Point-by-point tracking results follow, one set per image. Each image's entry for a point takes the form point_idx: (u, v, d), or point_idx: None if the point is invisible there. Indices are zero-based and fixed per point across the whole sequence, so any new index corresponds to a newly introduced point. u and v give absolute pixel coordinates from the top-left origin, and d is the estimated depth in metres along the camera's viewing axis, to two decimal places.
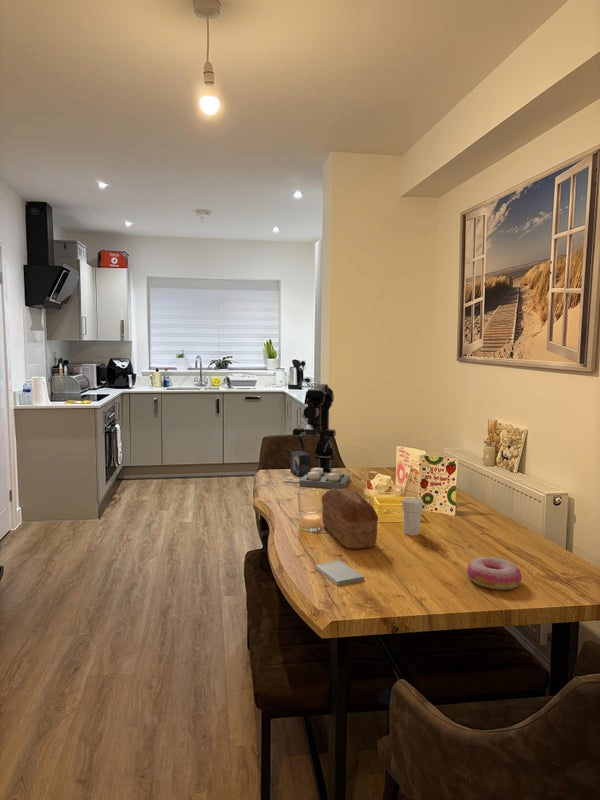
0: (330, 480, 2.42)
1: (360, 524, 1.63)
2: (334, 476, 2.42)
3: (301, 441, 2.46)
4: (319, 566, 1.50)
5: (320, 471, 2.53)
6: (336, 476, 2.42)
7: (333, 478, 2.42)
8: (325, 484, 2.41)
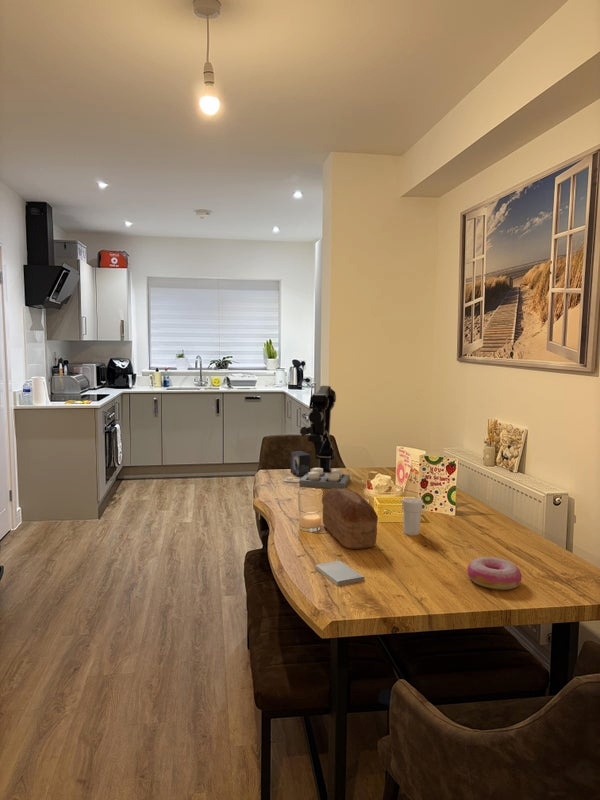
0: (330, 480, 2.42)
1: (360, 524, 1.63)
2: (334, 476, 2.42)
3: None
4: (319, 566, 1.50)
5: (320, 471, 2.53)
6: (336, 476, 2.42)
7: (333, 478, 2.42)
8: (325, 484, 2.41)
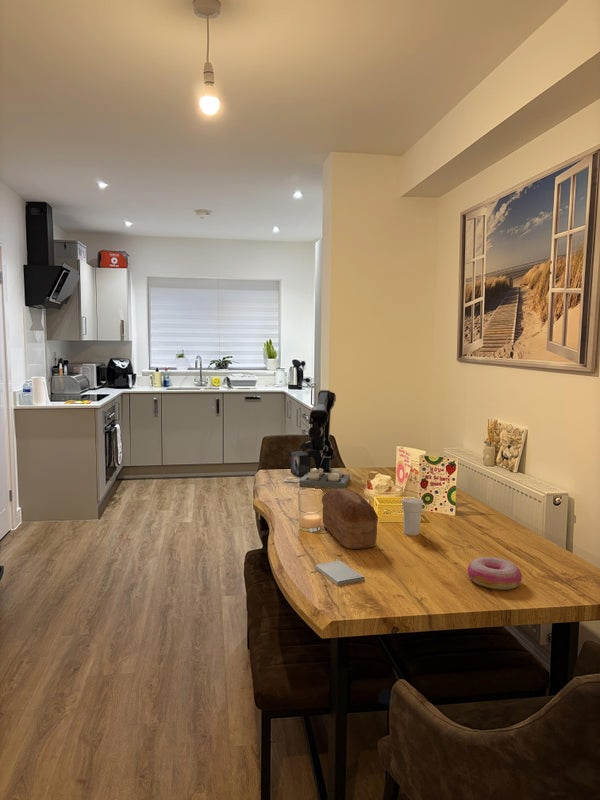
0: (330, 480, 2.42)
1: (360, 524, 1.63)
2: (334, 476, 2.42)
3: None
4: (319, 566, 1.50)
5: (320, 471, 2.53)
6: (336, 476, 2.42)
7: (333, 478, 2.42)
8: (325, 484, 2.41)
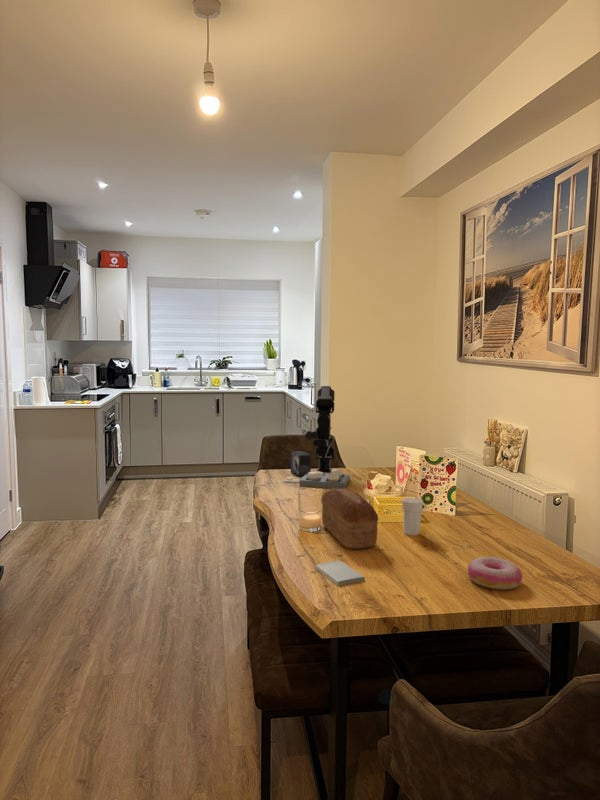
0: (330, 480, 2.42)
1: (361, 524, 1.63)
2: (334, 476, 2.42)
3: None
4: (319, 566, 1.50)
5: (320, 475, 2.53)
6: (336, 476, 2.42)
7: (333, 478, 2.42)
8: (325, 484, 2.41)
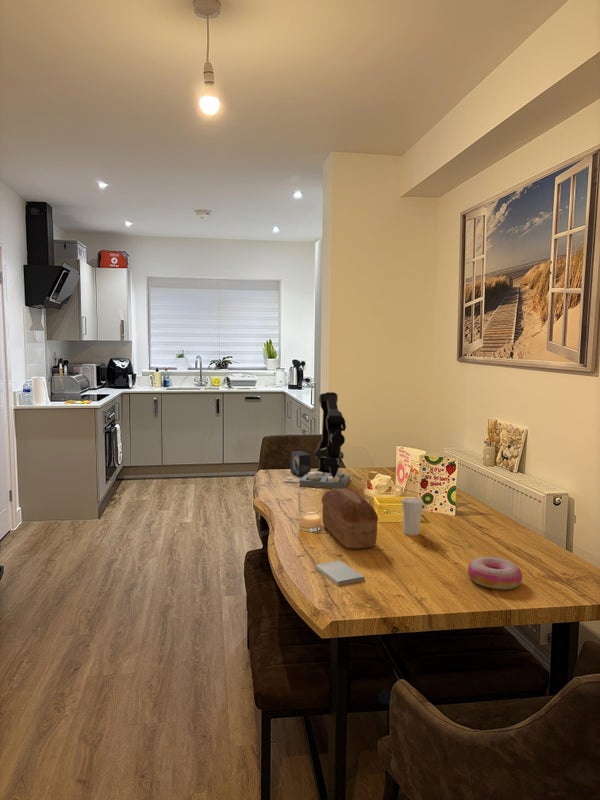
0: None
1: (360, 524, 1.63)
2: (334, 479, 2.42)
3: None
4: (319, 566, 1.50)
5: (320, 475, 2.53)
6: (336, 479, 2.42)
7: (333, 481, 2.42)
8: (325, 484, 2.41)
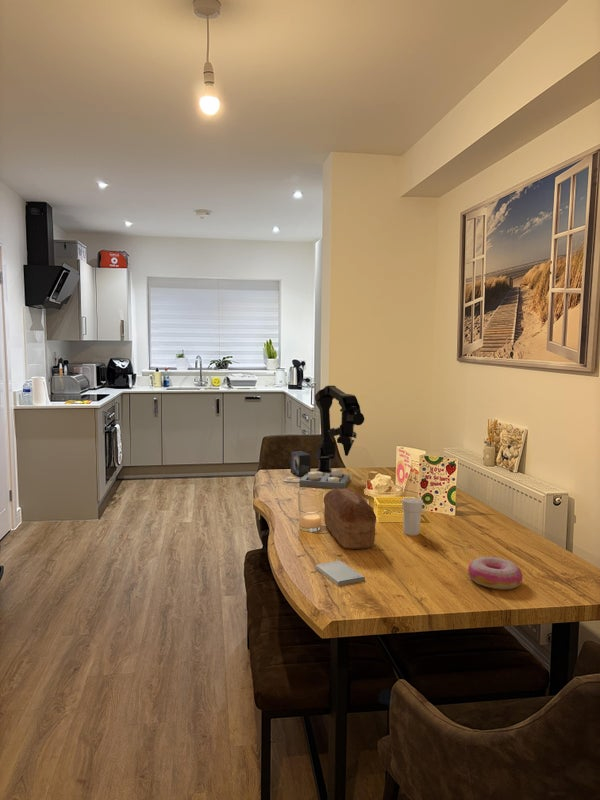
0: None
1: (357, 524, 1.63)
2: (334, 480, 2.42)
3: None
4: (319, 566, 1.50)
5: (320, 475, 2.53)
6: (336, 480, 2.42)
7: None
8: (325, 484, 2.41)
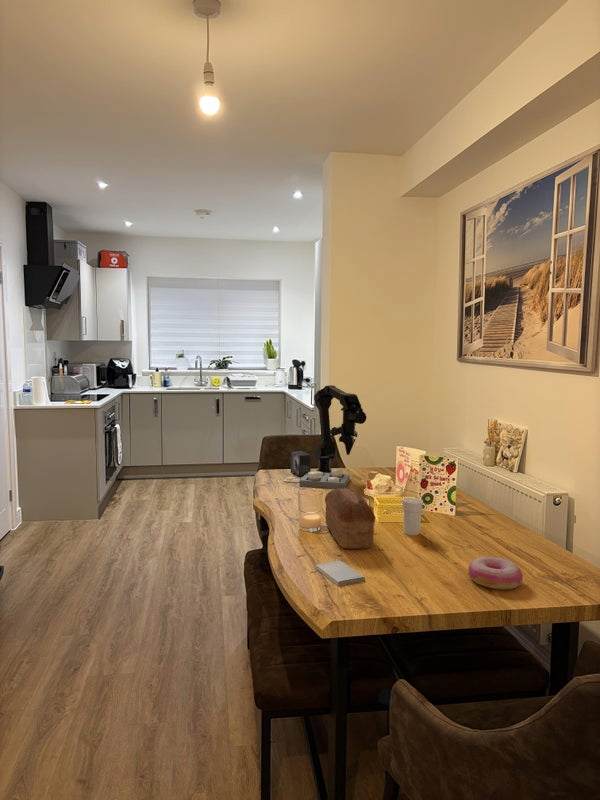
0: None
1: (356, 524, 1.63)
2: (334, 480, 2.42)
3: None
4: (320, 566, 1.50)
5: (320, 475, 2.53)
6: (336, 480, 2.42)
7: None
8: (325, 484, 2.41)
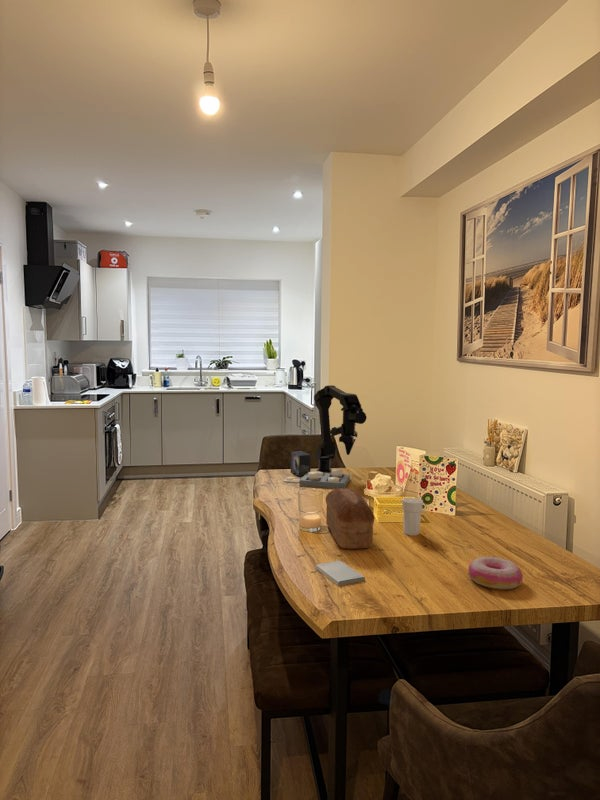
0: None
1: (354, 524, 1.63)
2: (334, 480, 2.42)
3: None
4: (320, 566, 1.50)
5: (320, 475, 2.53)
6: (336, 480, 2.42)
7: None
8: (325, 484, 2.41)
